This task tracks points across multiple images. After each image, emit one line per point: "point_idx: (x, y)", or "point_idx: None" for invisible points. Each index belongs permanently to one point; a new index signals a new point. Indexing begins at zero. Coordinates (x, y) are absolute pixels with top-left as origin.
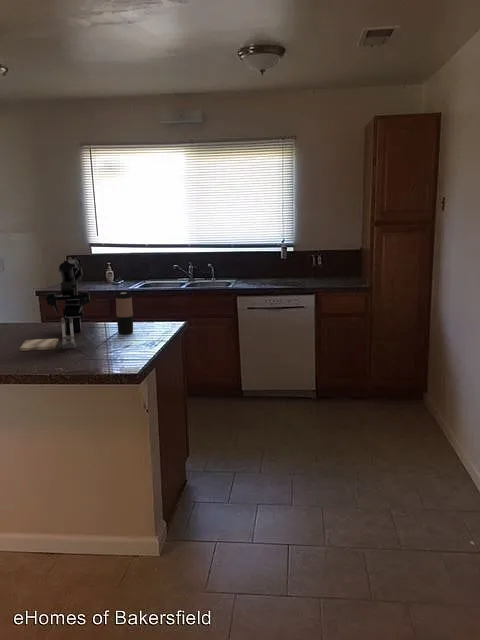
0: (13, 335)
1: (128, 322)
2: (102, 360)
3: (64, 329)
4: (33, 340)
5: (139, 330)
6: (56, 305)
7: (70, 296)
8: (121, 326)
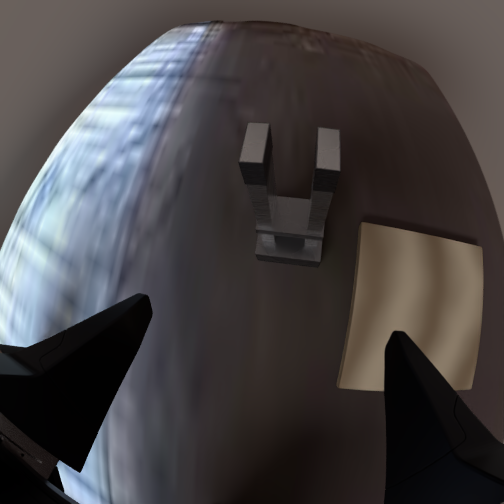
0: None
1: (9, 345)
2: (202, 71)
3: (312, 180)
4: (448, 375)
5: None
6: (440, 410)
7: None
8: None
